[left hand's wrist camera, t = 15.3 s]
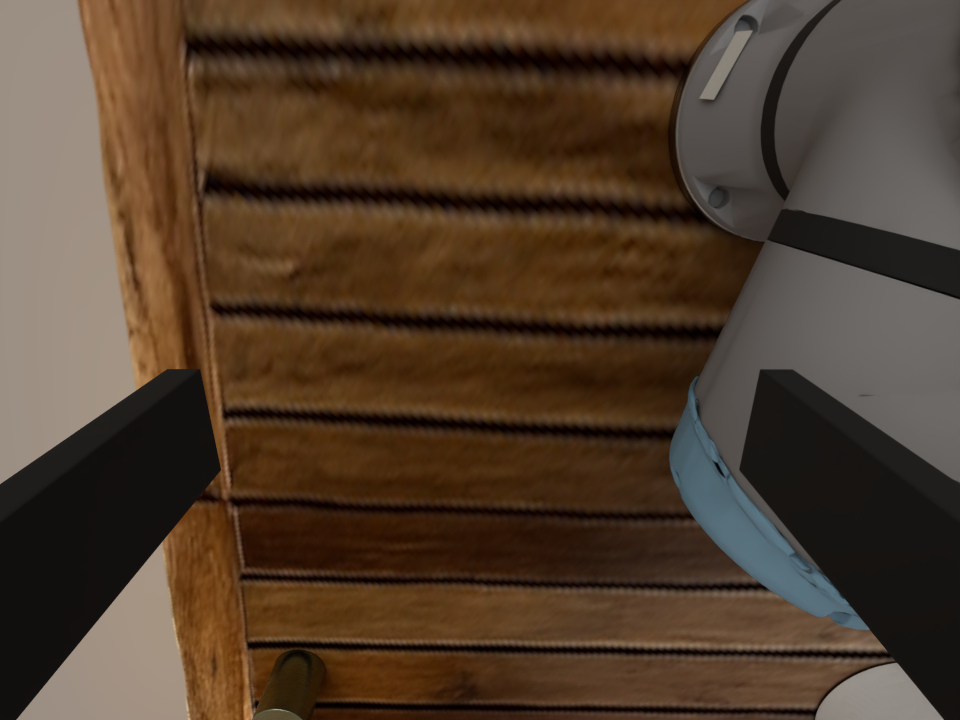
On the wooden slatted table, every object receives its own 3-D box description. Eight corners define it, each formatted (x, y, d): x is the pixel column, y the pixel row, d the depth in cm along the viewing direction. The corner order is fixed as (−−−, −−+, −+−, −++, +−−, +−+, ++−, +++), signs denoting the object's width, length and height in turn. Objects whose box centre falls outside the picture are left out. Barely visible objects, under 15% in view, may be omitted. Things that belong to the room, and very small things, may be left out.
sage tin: (322, 649, 52) (303, 709, 46) (327, 685, 54) (310, 747, 48) (271, 649, 52) (246, 709, 46) (278, 685, 54) (255, 747, 48)
